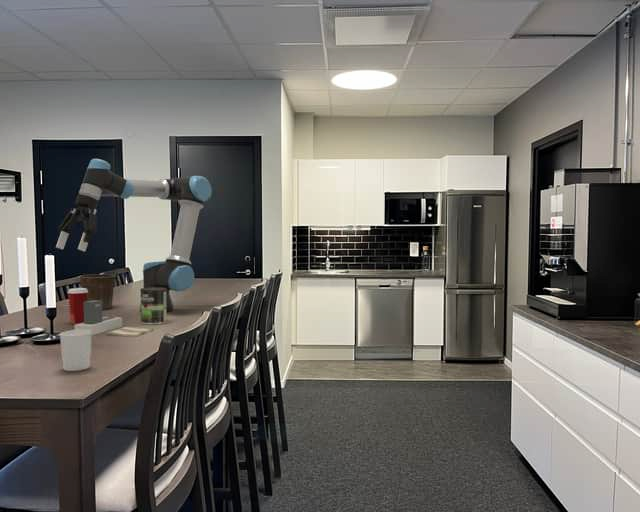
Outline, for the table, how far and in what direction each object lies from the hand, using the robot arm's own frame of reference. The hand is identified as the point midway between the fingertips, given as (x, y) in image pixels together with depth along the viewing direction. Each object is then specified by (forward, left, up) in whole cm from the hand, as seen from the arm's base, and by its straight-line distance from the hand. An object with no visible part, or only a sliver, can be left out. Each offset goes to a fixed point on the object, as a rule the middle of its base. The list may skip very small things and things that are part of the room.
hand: (70, 249), depth 193 cm
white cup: (+44, +38, -31) cm, 66 cm away
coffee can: (-23, +21, -31) cm, 44 cm away
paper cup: (-14, -8, -31) cm, 35 cm away
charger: (0, +10, -29) cm, 31 cm away
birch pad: (-2, +24, -31) cm, 39 cm away
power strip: (-3, +10, -31) cm, 33 cm away
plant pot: (-48, -24, -31) cm, 62 cm away
